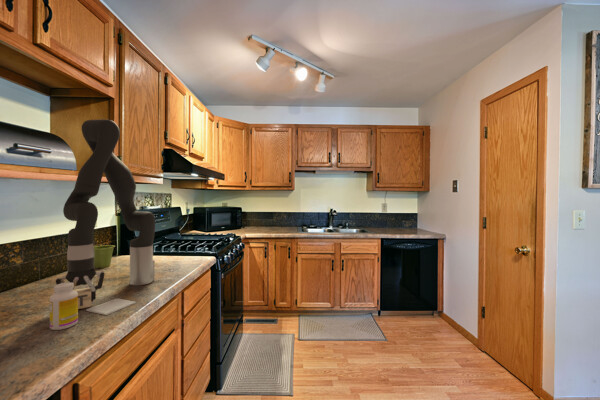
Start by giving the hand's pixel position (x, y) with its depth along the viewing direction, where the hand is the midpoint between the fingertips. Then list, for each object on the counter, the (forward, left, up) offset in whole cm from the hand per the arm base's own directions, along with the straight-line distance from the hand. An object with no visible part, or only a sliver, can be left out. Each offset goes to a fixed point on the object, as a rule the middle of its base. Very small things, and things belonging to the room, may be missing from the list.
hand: (81, 302), depth 97 cm
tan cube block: (0, 0, -1) cm, 1 cm away
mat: (-4, +10, -2) cm, 11 cm away
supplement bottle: (+11, +10, -2) cm, 15 cm away
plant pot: (-41, -49, -2) cm, 64 cm away
